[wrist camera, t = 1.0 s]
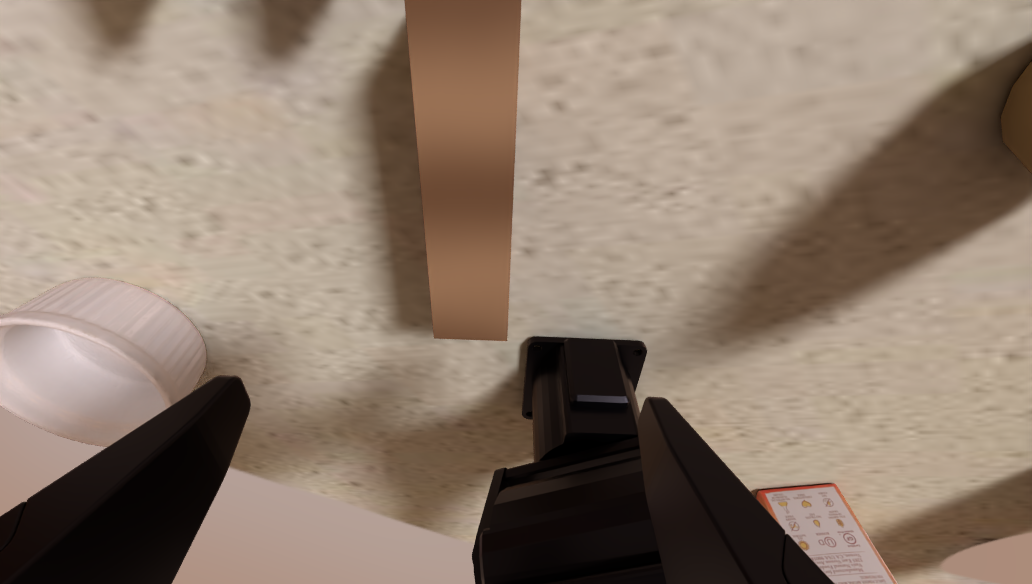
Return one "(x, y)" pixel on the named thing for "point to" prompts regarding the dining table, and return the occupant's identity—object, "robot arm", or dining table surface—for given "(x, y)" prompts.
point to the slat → (466, 156)
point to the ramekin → (96, 359)
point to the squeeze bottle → (1019, 119)
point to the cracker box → (827, 532)
